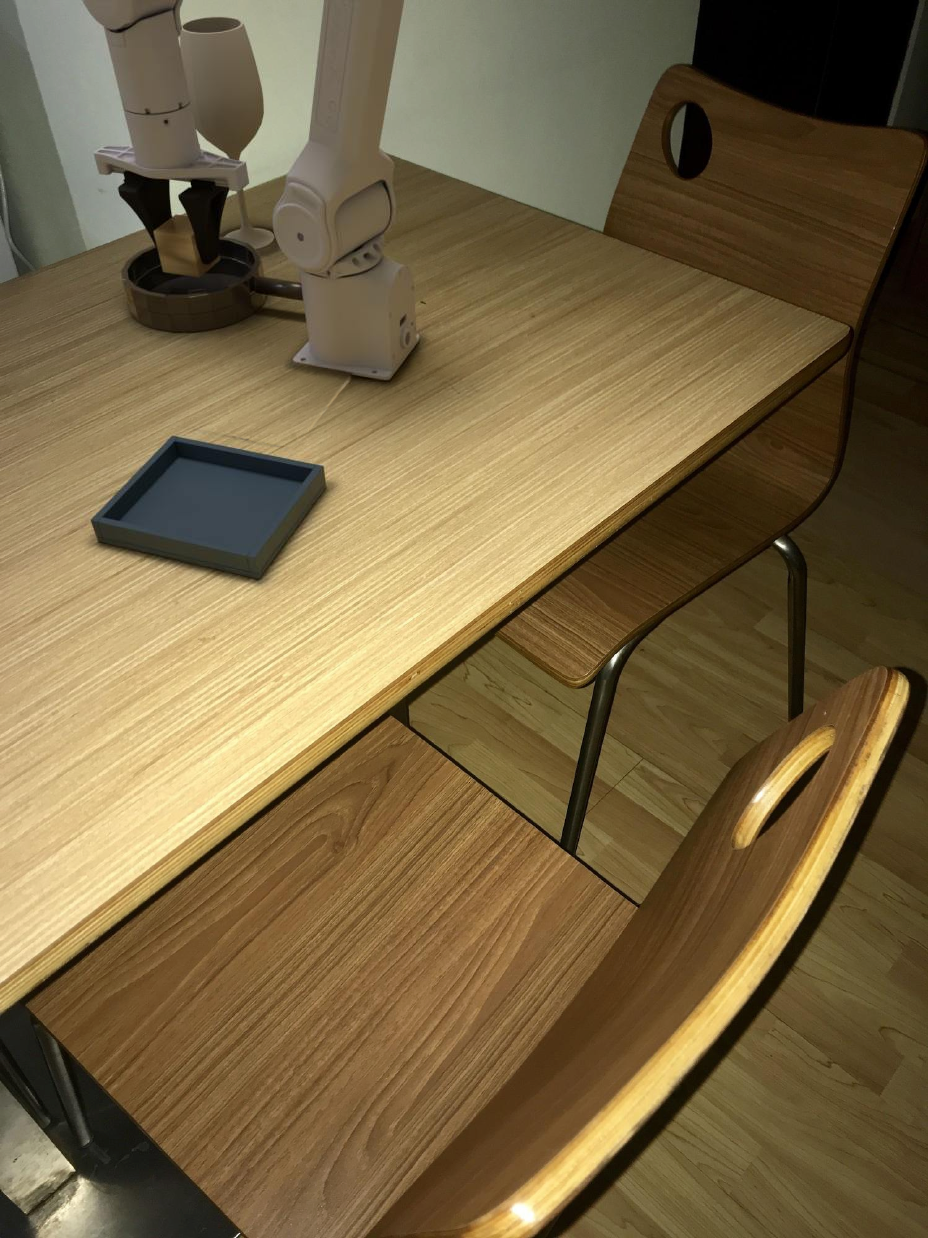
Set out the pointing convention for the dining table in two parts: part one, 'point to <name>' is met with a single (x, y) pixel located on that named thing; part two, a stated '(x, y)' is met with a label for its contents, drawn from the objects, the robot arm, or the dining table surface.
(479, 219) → the dining table surface
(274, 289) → the pan handle
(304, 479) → the tray
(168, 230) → the cube
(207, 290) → the pan
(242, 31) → the wineglass
